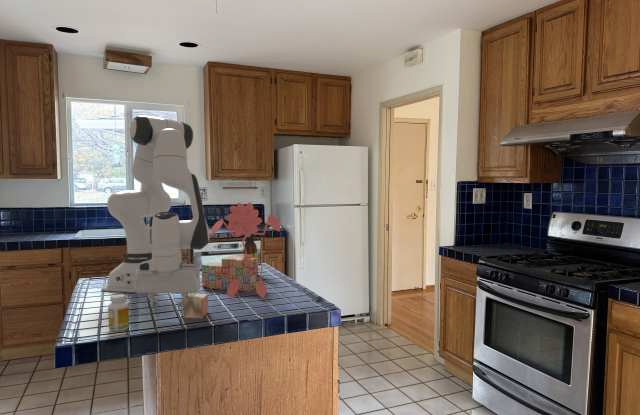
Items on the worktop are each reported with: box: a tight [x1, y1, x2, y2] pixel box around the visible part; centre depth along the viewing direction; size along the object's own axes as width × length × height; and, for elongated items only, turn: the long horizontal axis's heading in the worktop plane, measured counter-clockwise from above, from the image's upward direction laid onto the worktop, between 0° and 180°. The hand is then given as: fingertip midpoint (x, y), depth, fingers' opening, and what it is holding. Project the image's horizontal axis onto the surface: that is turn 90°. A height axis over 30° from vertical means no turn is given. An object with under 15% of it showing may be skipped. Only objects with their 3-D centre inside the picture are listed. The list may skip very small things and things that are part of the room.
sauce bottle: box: [242, 234, 259, 276], centre depth 199 cm, size 6×6×20 cm
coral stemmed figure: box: [210, 202, 281, 308], centre depth 158 cm, size 15×26×35 cm, turn 86°
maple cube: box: [182, 293, 209, 319], centre depth 142 cm, size 6×6×6 cm
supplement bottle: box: [107, 293, 130, 332], centre depth 130 cm, size 5×5×10 cm
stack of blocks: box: [201, 255, 258, 293], centre depth 178 cm, size 21×6×12 cm, turn 72°
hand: (168, 306), depth 142 cm, fingers open, 7 cm apart
